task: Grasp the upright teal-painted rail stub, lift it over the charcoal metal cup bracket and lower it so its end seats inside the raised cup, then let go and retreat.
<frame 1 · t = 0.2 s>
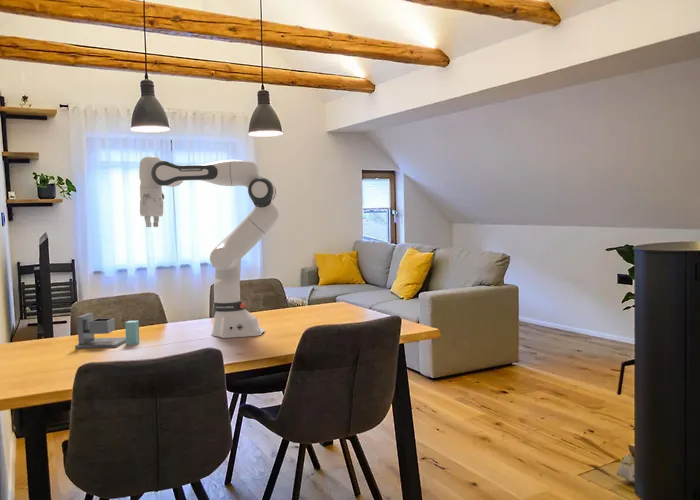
hand: (152, 227, 242), 47 cm above the table, fingers open, 8 cm apart
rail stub: (132, 343, 229), on the table
cup bracket: (103, 344, 229), on the table
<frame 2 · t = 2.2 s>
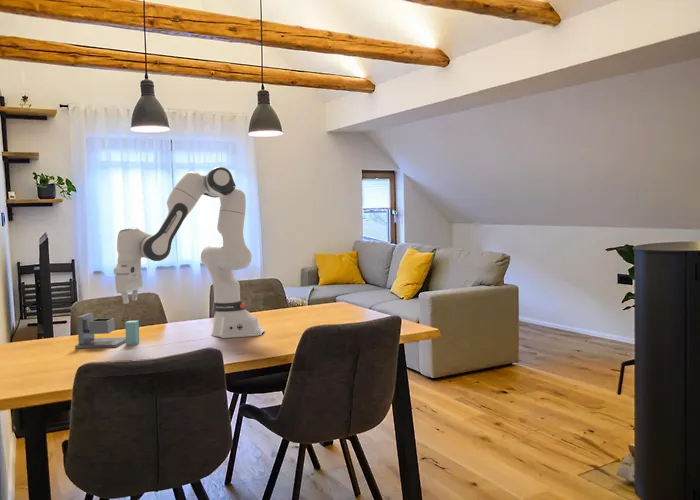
hand: (130, 301, 228), 17 cm above the table, fingers open, 8 cm apart
nothing on the table moved.
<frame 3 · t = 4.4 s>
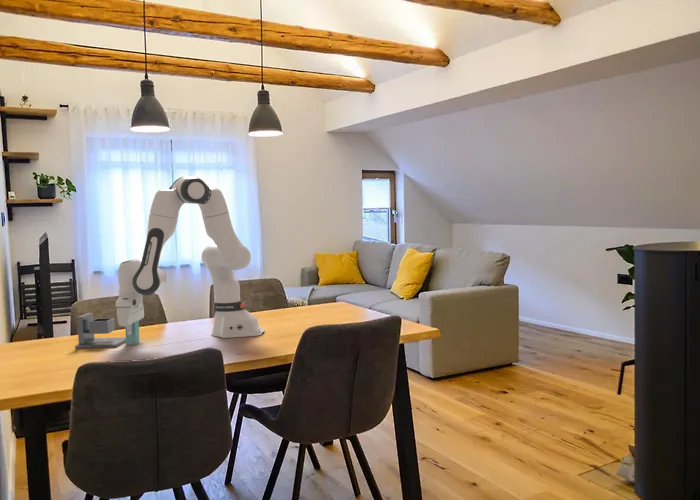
hand: (132, 333, 229), 4 cm above the table, fingers closed on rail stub, 4 cm apart
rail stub: (132, 343, 229), on the table, touching gripper
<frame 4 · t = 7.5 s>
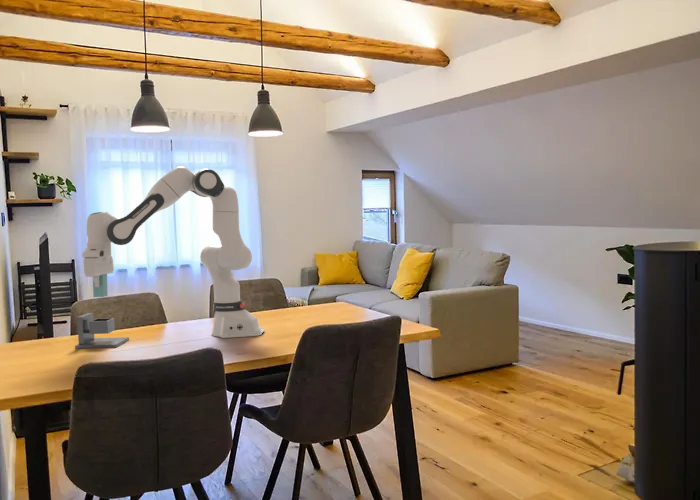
hand: (100, 286, 227), 24 cm above the table, fingers closed on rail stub, 4 cm apart
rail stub: (100, 296, 228), point 20 cm above the table, touching gripper
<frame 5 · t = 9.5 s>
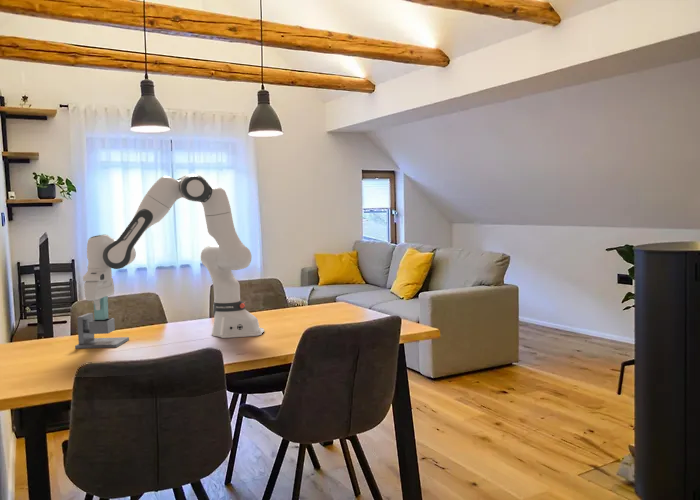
hand: (101, 308, 228), 14 cm above the table, fingers closed on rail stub, 4 cm apart
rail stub: (101, 318, 228), point 10 cm above the table, touching gripper
when the fingers open (12 cm above the table, at t = 11.0 s): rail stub drops 1 cm, resting on cup bracket.
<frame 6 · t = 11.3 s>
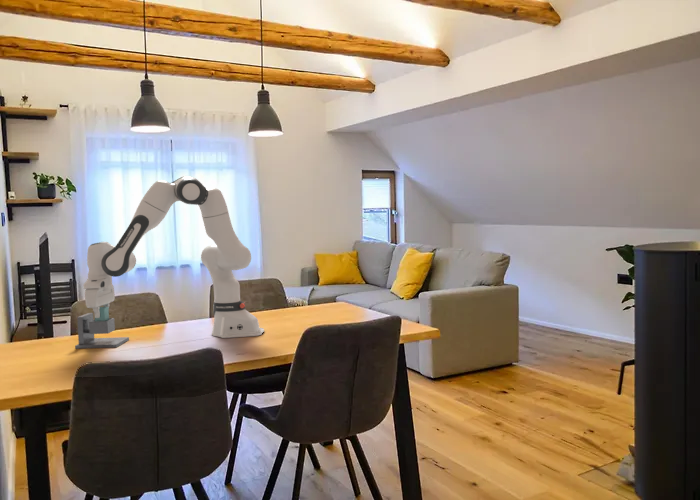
hand: (101, 315, 228), 12 cm above the table, fingers open, 6 cm apart
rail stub: (102, 329, 229), point 6 cm above the table, touching cup bracket
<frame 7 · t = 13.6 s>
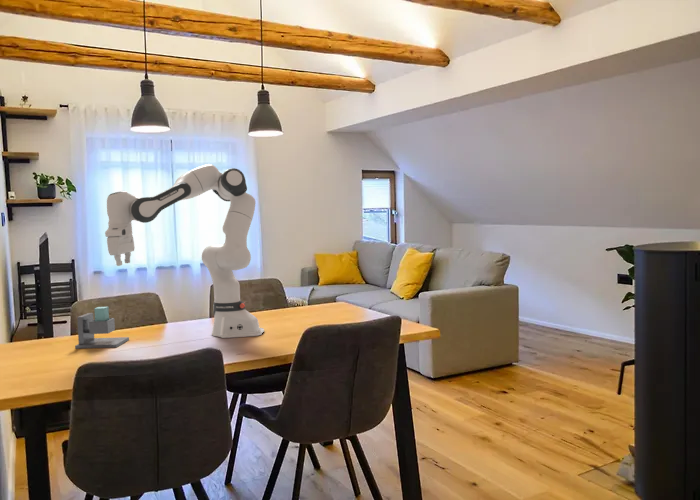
hand: (123, 264, 233), 32 cm above the table, fingers open, 8 cm apart
nothing on the table moved.
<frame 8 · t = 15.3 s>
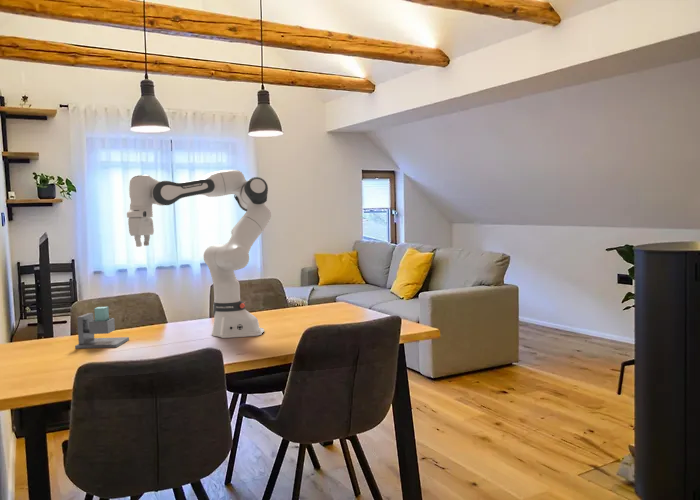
hand: (142, 246, 238), 39 cm above the table, fingers open, 8 cm apart
nothing on the table moved.
at the end: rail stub 0.0 cm off-centre on the cup bracket, point 6.0 cm above the cup bracket's base; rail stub tilted 0°; the gripper is holding nothing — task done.
